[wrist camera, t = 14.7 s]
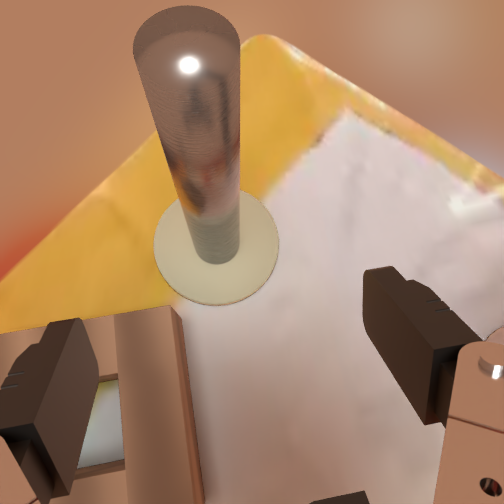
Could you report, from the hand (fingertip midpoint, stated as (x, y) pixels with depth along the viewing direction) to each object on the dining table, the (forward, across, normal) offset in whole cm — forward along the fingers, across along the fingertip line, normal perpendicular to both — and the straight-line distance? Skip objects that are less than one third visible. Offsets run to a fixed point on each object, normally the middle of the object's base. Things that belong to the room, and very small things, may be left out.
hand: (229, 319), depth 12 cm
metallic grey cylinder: (+23, 0, +9) cm, 25 cm away
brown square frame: (+15, +11, +18) cm, 26 cm away
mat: (+24, 0, +9) cm, 26 cm away
